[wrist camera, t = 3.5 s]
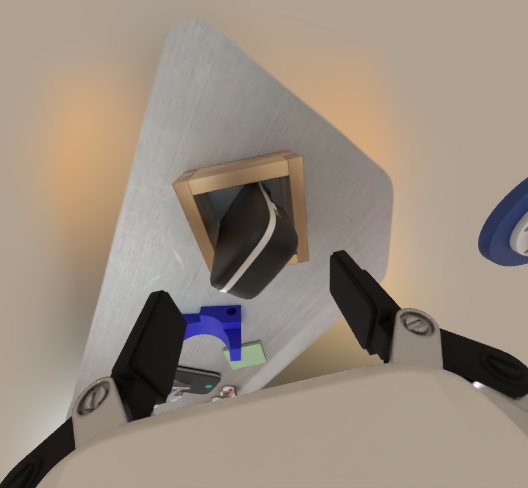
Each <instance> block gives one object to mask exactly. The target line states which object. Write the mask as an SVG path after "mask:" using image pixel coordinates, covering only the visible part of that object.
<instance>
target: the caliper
mask: <svg viewBox="0 0 528 488" xmlns="http://www.w3.org/2000/svg"><path fill="white" fill-rule="evenodd" d="M180 388H182V389H180ZM174 389H176V390H175V391H173V390H174ZM183 389H190V385H189V384H185V383H181V382H178V381H174V383H173V387H172V391H171V393H170V394H169V395H168V397H167V401H166V402H173V401H176V400H179V399H181V398H182V397H183V396H182V394H183V392H180V390H183ZM180 395H181V396H180ZM159 405H160V404H158V405H155V406H154V408H156V407H157V406H159Z"/></svg>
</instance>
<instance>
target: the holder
mask: <svg viewBox="0 0 528 488" xmlns="http://www.w3.org/2000/svg"><path fill="white" fill-rule="evenodd" d="M278 177H280V182H281V189H282V197H283V205H284V210H285V211H286V213H287V215H288V216H289V218H290V220H291V221H292V223H293V225H294V228H295V230H296V232H297V235H298V248H297V251H296V252H295V254H294V256H293V257H292V258H291V260H290V261H289V262H288V263H287V264H286V265H291V264H296V263H300V262H305V261H309V253H308V237H307V221H306V204H305V188H304V172H303V157H302V156H300V155H298V154H296V153H294V152H291V151H289V150H285V151H281V152H277V153H271V154H267V155H262V156H257V157H252V158H247V159H243V160H238V161H233V162H228V163H224V164H219V165H214V166H209V167H205V168H200V169H195V170H190V171H186V172H185V173H184V174H183V175H182V176H181V177H180V178H178V179H177V180H176V181H175V182H174V183H173V184H172V185H173V187H174V190H175V192H176V194H177V197H178V199H179V201H180V204H181V206H182V208H183V211H184V213H185V215H186V218H187V220H188V222H189V225H190V227H191V229H192V232H193V234H194V236H195V238H196V241H197V243H198V245H199V248H200V250H201V252H202V255H203V257H204V259H205V262H206V264H207V266H208V269H209V271H210V273H211V270H212V264H213V258H214V253H215V248H216V243H217V239H218V234H219V228H218V225H217V223H216V220H215V217H214V214H213V211H212V208H211V205H210V202H209V199H208V196H207V193H206V192H211V191H216V190H221V189H225V188H230V187H235V186H240V185H244V184H249V183H254V182H259V181H263V180H268V179H273V178H278ZM286 265H285V266H286Z"/></svg>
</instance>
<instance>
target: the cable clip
mask: <svg viewBox="0 0 528 488" xmlns="http://www.w3.org/2000/svg"><path fill="white" fill-rule="evenodd" d="M183 317H184V318H185V320H186V322H187V328H186V333H185V337H184V340H185V339H187V338H189V337H192V336H195V335H200V334H209V335H213V336H216V337H218V338H219V339H221V340H222V341H223V342H224V343H225V344H226V346H227V348H228V350H229V353H230V362H231V361H241V305H240V306H216V307H201V310H200V314H184V315H183Z"/></svg>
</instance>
